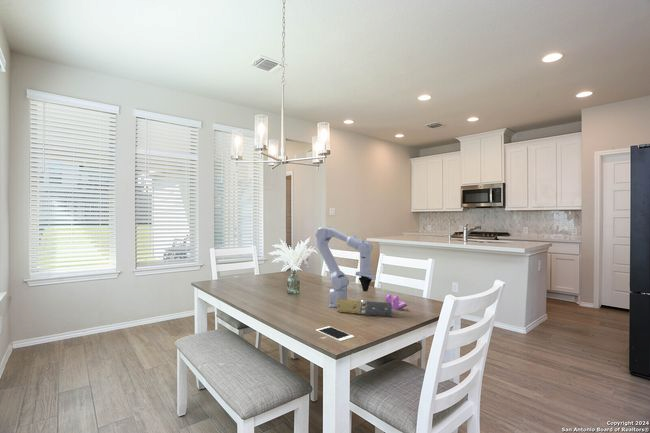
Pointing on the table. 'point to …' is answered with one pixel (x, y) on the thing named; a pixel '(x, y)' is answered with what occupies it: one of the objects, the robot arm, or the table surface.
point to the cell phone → (335, 333)
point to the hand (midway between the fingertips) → (365, 291)
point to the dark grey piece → (377, 308)
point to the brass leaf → (349, 306)
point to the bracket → (395, 302)
